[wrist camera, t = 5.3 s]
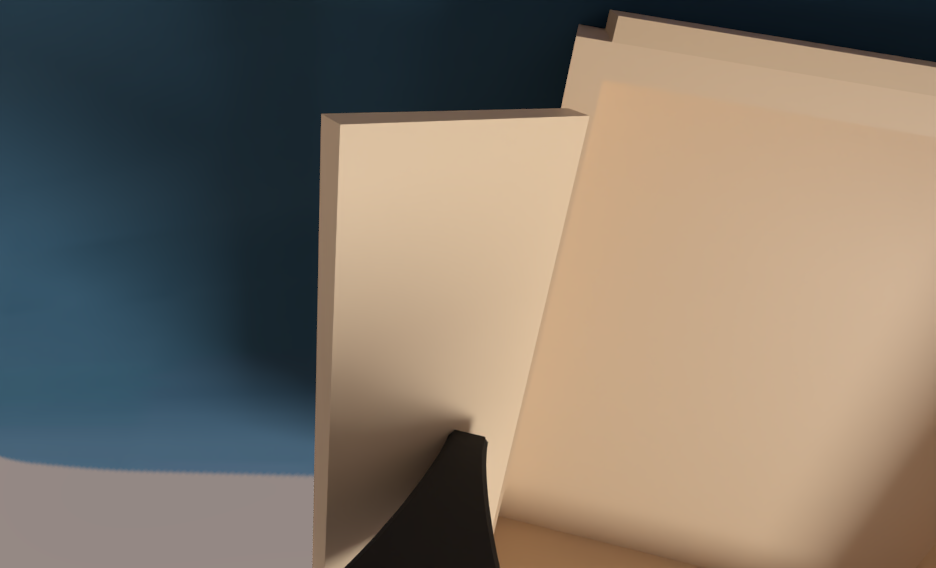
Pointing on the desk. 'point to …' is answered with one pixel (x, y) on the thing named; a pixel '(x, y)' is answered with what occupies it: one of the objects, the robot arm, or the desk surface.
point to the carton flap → (427, 297)
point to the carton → (735, 312)
